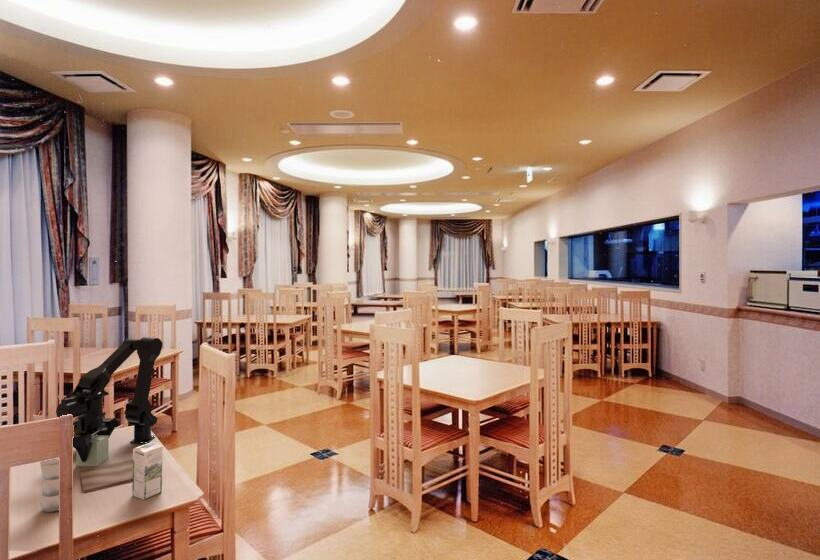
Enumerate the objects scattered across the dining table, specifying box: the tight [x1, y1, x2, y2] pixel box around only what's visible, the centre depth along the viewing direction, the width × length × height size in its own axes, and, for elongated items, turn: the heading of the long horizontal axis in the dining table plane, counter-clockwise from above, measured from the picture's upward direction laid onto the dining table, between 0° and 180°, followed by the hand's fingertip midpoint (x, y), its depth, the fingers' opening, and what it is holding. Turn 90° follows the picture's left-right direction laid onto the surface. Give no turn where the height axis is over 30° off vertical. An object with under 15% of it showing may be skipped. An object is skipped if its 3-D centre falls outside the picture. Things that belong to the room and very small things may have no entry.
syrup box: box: [131, 441, 164, 501], centre depth 138 cm, size 6×6×14 cm
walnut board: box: [79, 458, 133, 493], centre depth 149 cm, size 16×16×1 cm
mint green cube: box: [75, 435, 110, 467], centre depth 158 cm, size 7×7×8 cm
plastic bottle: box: [39, 459, 59, 513], centre depth 128 cm, size 6×7×20 cm
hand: (92, 456), depth 158 cm, fingers open, 9 cm apart
